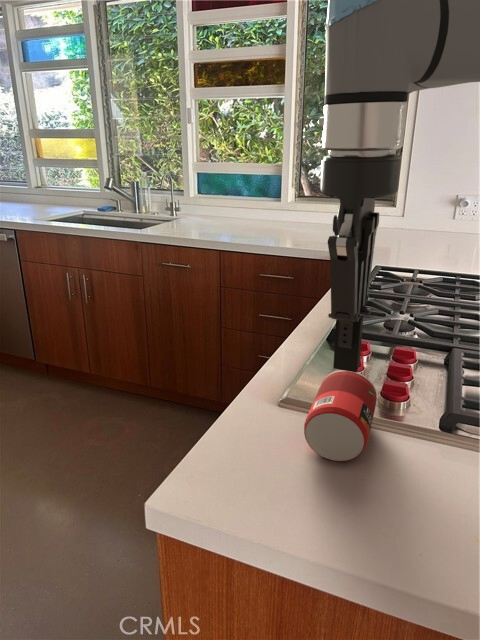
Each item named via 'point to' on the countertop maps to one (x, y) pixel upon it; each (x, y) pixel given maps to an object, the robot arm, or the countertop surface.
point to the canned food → (341, 416)
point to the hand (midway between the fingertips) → (346, 367)
